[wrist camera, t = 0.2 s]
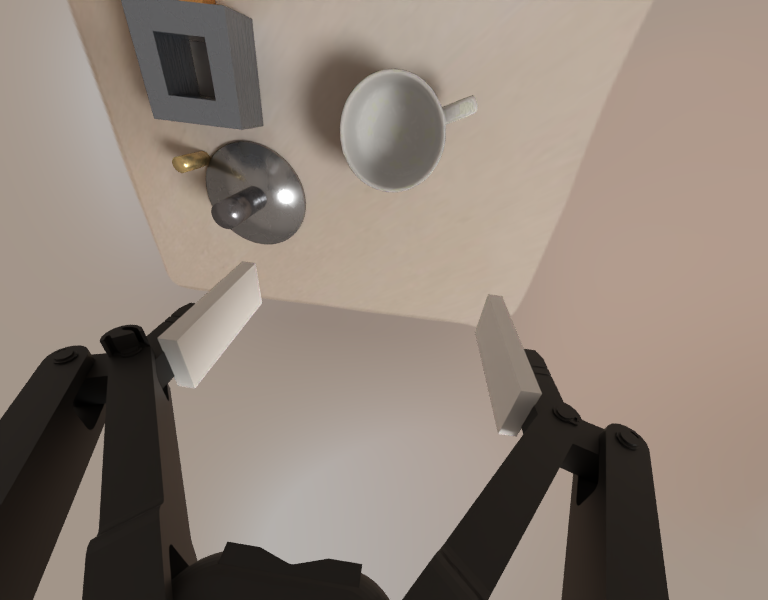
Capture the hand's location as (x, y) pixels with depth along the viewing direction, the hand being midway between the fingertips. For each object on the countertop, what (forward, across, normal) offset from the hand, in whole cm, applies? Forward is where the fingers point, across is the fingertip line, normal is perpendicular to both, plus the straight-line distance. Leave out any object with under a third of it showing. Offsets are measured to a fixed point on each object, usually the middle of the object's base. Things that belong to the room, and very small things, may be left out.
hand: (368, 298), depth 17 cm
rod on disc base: (+28, -20, -4) cm, 34 cm away
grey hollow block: (+27, -23, +13) cm, 38 cm away
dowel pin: (+28, -27, 0) cm, 38 cm away
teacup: (+28, 0, +7) cm, 29 cm away
